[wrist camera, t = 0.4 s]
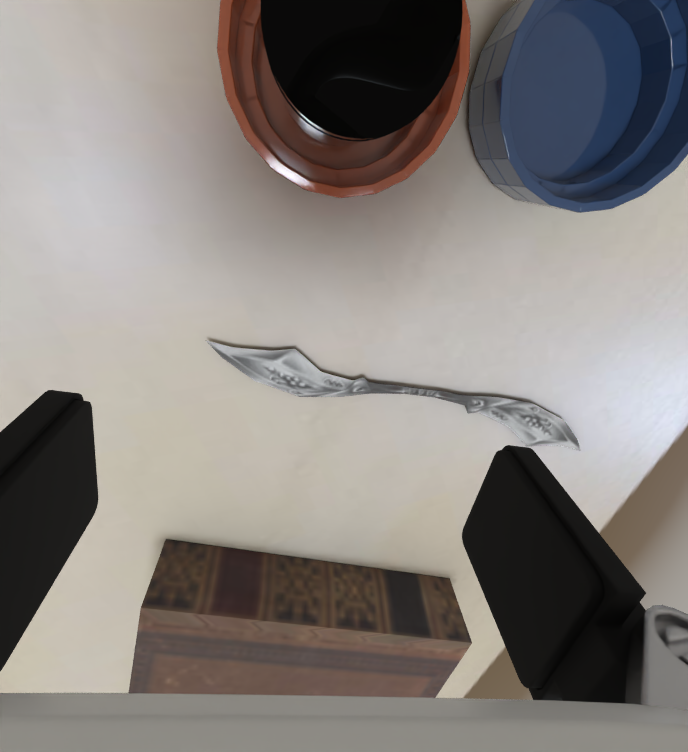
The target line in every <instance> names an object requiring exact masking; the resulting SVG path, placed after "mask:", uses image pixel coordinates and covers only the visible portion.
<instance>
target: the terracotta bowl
mask: <svg viewBox="0 0 688 752" xmlns="http://www.w3.org/2000/svg"><path fill="white" fill-rule="evenodd" d="M462 4H463V16H462V29H461V35H460V41H459V46H458V50H457V54H456V57H455V60H454V63H453V66H452V68H451V71H450V73H449V75H448V77H447V79H446V81H445V83H444V85H443V87H442V89H441V90H440V92H439V93H438V95H437V96H436V98H435V99H434V100H433V102H432V103H431V104H430V105H429V106H428V107H427V109H426V110H425V111H424V112H423V113H422V114H421V115H419V116H418V117H417V118H416V119H415V120H413V121H412V122H411V123H409V124H408V125H406V126H405V127H403V128H401V129H399V130H397V131H395V132H393V133H391V134H389V135H386V136H384V137H381V138H378V139H375V140H370V141H364V142H361V143H358V144H355V145H350V146H332V145H327V144H324V143H321V142H319V141H317V140H315V139H313V138H312V137H310V136H309V135H307V134H306V133H305V132H304V131H303V130H302V129H301V128H300V127H299V126H298V125H297V124H296V123H295V121H294V120H293V119H292V117H291V115H290V114H289V112H288V110H287V108H286V106H285V104H284V101H283V98H282V95H281V92H280V89H279V87H278V86H277V84H276V81H275V79H274V76H273V74H272V71H271V68H270V65H269V62H268V57H267V53H266V49H265V45H264V41H263V34H262V27H261V13H260V12H261V0H221V1H220V15H219V29H218V43H217V49H218V50H217V52H218V57H219V63H220V68H221V73H222V79H223V84H224V89H225V94H226V97H227V101H228V103H229V105H230V107H231V109H232V111H233V113H234V115H235V117H236V120H237V122H238V124H239V126H240V128H241V130H242V132H243V134H244V136H245V138H246V140H247V141H248V142H249V143H250V144H251V146H252V147H253V148H254V149H255V150H256V151H257V152H258V153H259V155H260V156H261V157H262V158H263V159H264V160H265V161H266V163H267V164H268V165H269V166H270V167H271V168H272V169H273V170H274V171H275V172H277V173H278V174H280V175H282V176H283V177H285V178H287V179H288V180H290V181H291V182H293V183H295V184H296V185H298V186H300V187H301V188H303V189H304V190H307V191H311V192H316V193H320V194H325V195H329V196H333V197H338V198H345V197H354V196H363V195H371V194H374V193H375V194H376V193H378V192H380V191H382V190H384V189H386V188H389V187H391V186H393V185H395V184H397V183H399V182H401V181H403V180H405V179H407V178H408V177H409V176H410V175H411V174H413V173H414V172H415V171H416V170H417V169H418V168H419V167H420V166H421V165H422V164H423V163H424V162H425V161H426V160H427V159H428V158H430V157H431V156H432V155H433V154H434V153H435V151H436V150H437V148H438V147H439V145H440V143H441V142H442V140H443V138H444V137H445V135H446V133H447V131H448V130H449V128H450V126H451V125H452V123H453V121H454V120H455V118H456V115H457V113H458V110H459V106H460V103H461V99H462V96H463V92H464V89H465V85H466V82H467V78H468V75H469V61H470V27H471V25H470V19H469V15H468V10H467V6H466V1H465V0H462Z"/></svg>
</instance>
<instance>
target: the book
mask: <svg viewBox="0 0 688 752" xmlns="http://www.w3.org/2000/svg"><path fill="white" fill-rule="evenodd" d="M471 644H472V642H471V639H470V636H469V633H468V630H467V627H466V624H465V622H464V619H463V616H462V613H461V610H460V607H459V604H458V602H457V599H456V596H455V593H454V590H453V587H452V584H451V582H450V579H448V578H441V577H433V576H426V575H419V574H412V573H405V572H397V571H390V570H383V569H376V568H369V567H361V566H354V565H347V564H340V563H333V562H325V561H318V560H311V559H304V558H297V557H289V556H282V555H275V554H268V553H261V552H253V551H246V550H239V549H232V548H225V547H217V546H210V545H203V544H196V543H189V542H181V541H174V540H167V539H166V541H165V543H164V546H163V549H162V552H161V554H160V557H159V560H158V563H157V565H156V568H155V571H154V573H153V576H152V579H151V582H150V584H149V587H148V590H147V593H146V595H145V598H144V601H143V604H142V606H141V611H140V618H139V625H138V632H137V639H136V646H135V653H134V660H133V667H132V674H131V681H130V688H129V693H143V694H235V695H302V696H363V697H420V698H435V697H436V696H437V694H438V693H439V691H440V690H441V688H442V687H443V685H444V684H445V682H446V681H447V679H448V678H449V676H450V675H451V673H452V672H453V670H454V669H455V667H456V666H457V664H458V663H459V662H460V660H461V659H462V657H463V656H464V654H465V653H466V651H467V650H468V648H469V647H470V645H471Z"/></svg>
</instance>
